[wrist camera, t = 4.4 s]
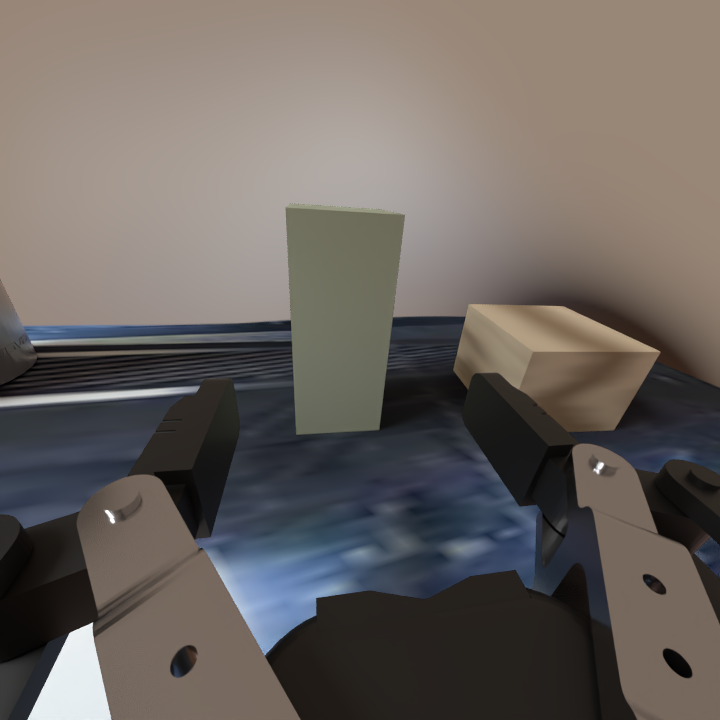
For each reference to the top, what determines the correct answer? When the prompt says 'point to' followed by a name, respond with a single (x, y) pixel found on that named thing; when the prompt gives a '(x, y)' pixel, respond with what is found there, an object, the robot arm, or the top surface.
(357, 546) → the top surface
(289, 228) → the sage block
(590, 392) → the birch base block
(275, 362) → the top surface
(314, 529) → the top surface
